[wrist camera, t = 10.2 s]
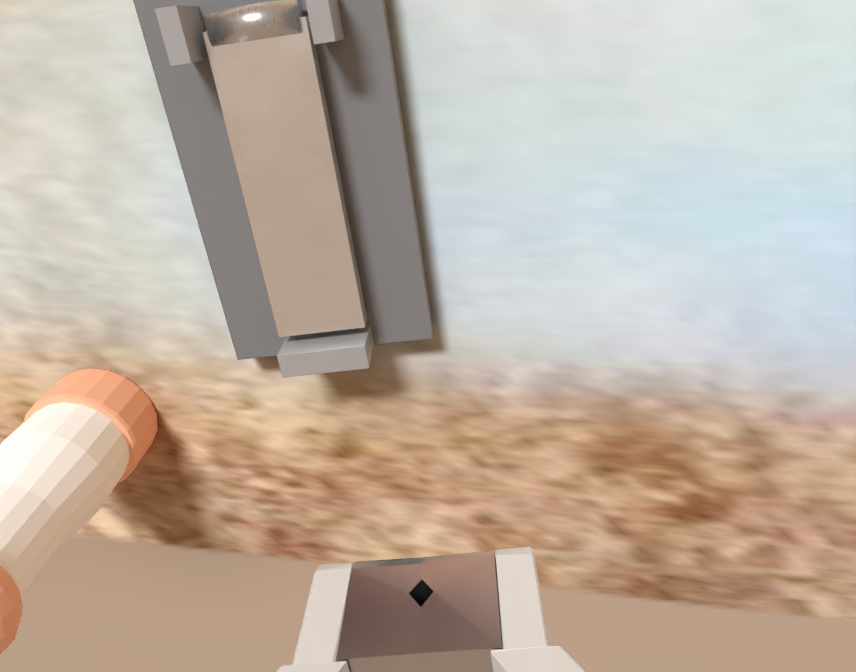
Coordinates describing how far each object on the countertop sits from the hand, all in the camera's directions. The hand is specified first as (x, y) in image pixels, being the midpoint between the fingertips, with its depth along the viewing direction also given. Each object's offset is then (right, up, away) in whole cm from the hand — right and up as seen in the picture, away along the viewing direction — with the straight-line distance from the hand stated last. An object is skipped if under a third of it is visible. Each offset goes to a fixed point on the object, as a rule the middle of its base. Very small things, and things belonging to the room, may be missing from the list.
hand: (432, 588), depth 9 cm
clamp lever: (-7, +12, +27) cm, 30 cm away
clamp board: (-7, +13, +29) cm, 32 cm away
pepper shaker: (-22, -2, +36) cm, 42 cm away
